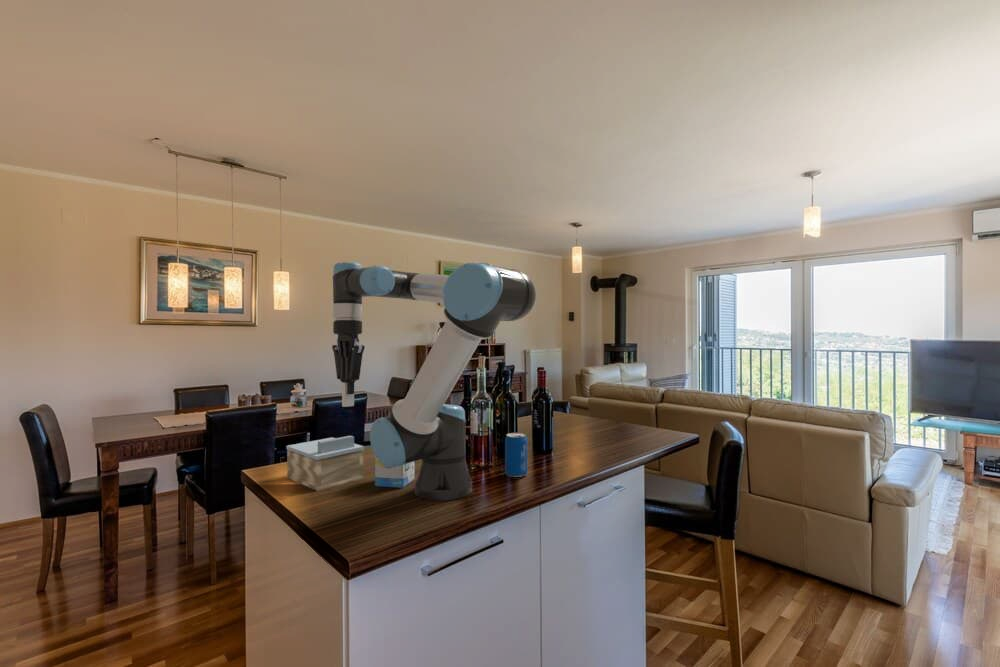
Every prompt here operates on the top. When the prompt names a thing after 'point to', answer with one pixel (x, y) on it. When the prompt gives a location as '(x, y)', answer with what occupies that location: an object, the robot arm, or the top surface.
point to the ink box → (393, 475)
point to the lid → (326, 447)
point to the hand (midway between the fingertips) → (348, 405)
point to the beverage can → (516, 454)
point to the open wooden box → (325, 469)
